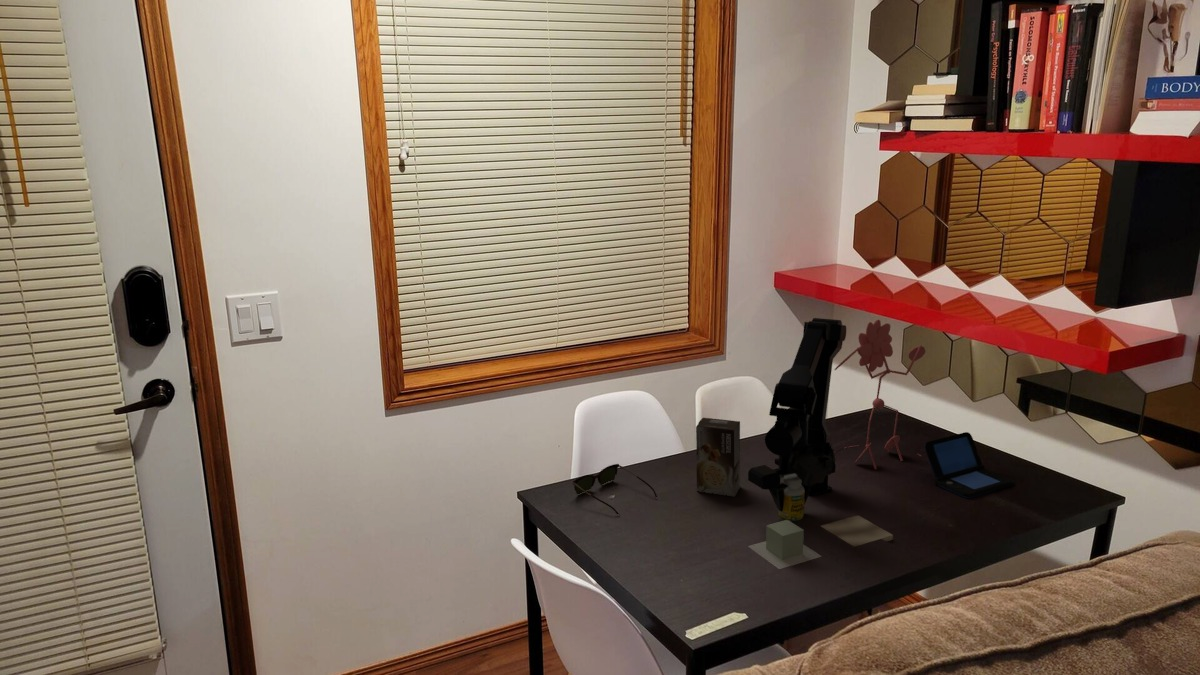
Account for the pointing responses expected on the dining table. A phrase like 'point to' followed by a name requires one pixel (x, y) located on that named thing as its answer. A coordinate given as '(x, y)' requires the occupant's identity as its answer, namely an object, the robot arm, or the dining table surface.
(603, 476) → the sunglasses
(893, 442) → the figurine
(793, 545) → the sage block
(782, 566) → the grey pad
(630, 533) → the dining table surface
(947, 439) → the handheld game console
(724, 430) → the coffee box
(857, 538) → the birch pad
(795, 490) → the supplement bottle
